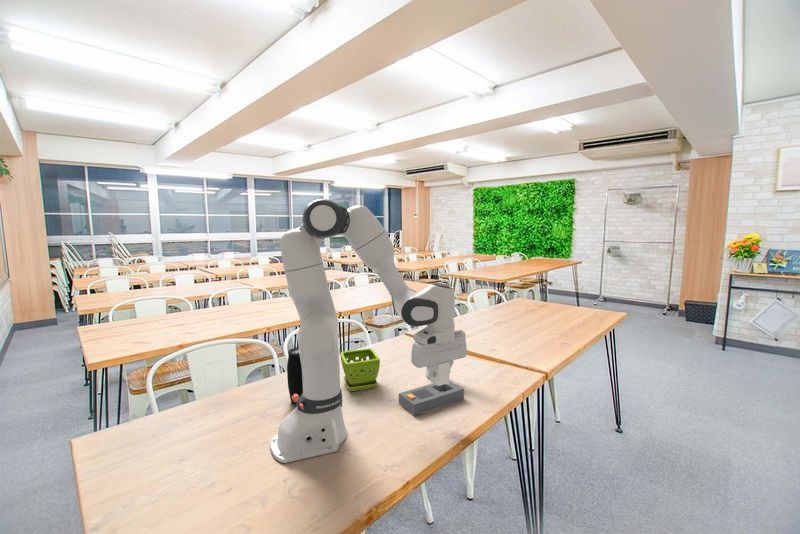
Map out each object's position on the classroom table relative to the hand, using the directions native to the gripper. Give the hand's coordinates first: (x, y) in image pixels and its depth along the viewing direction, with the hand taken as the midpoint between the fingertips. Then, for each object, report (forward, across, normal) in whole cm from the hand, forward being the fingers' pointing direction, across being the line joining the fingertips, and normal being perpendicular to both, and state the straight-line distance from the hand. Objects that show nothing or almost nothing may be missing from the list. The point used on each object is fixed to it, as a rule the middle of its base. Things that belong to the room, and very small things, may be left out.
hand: (439, 375), depth 117 cm
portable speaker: (+17, +34, -39) cm, 54 cm away
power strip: (+15, -6, -12) cm, 20 cm away
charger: (+2, 0, 0) cm, 2 cm away
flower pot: (+16, +10, -39) cm, 43 cm away
